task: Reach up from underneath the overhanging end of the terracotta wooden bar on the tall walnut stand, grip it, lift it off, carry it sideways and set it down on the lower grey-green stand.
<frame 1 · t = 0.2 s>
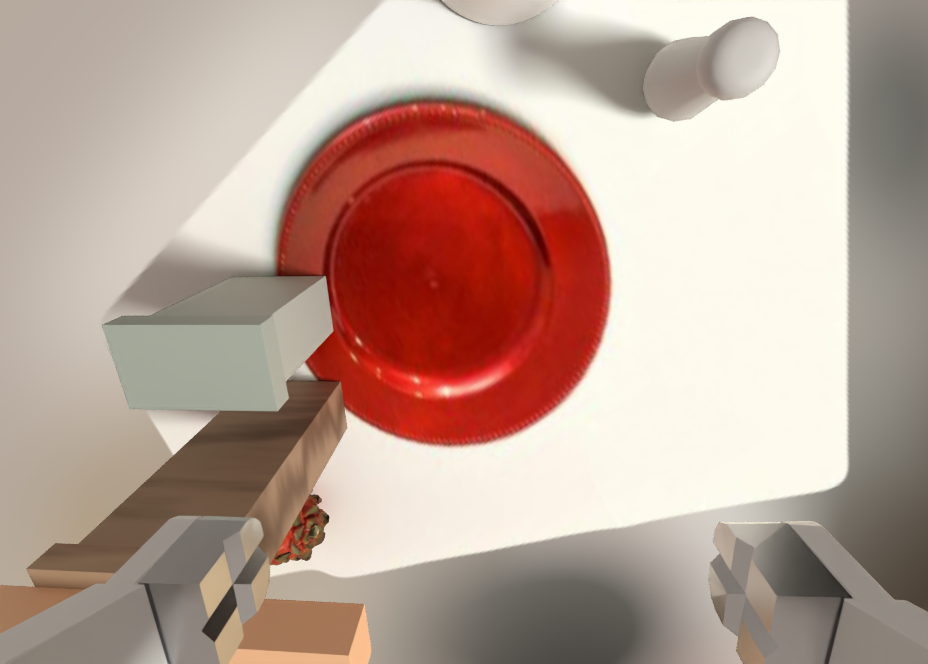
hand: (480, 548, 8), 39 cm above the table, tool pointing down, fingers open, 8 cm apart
low stand: (283, 304, 49), on the table
salt shaker: (671, 84, 39), on the table
dragon fruit: (297, 506, 60), on the table
bar: (179, 617, 29), point 26 cm above the table, touching tall stand
tall stand: (301, 404, 54), on the table
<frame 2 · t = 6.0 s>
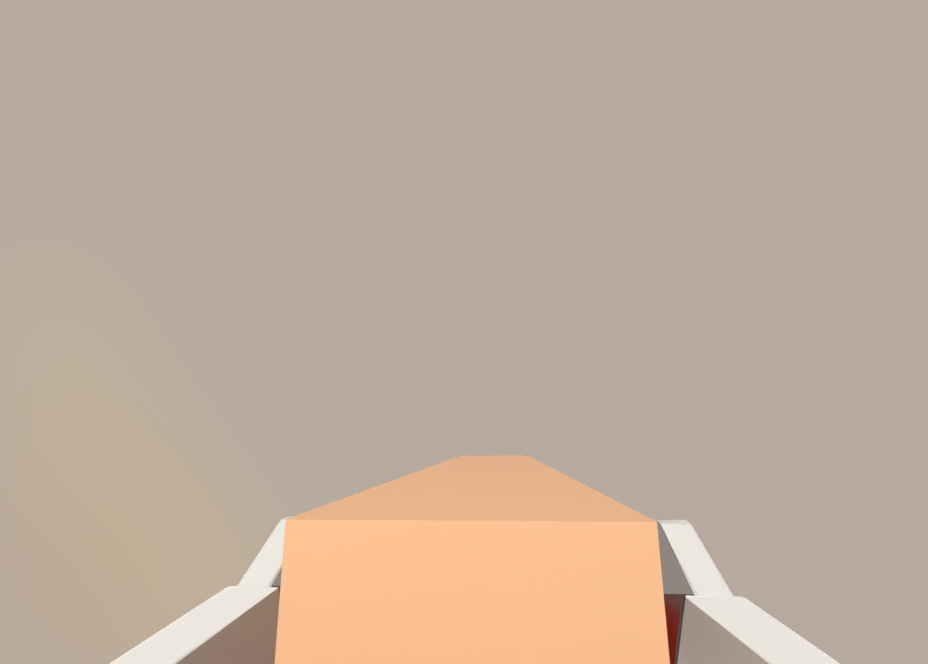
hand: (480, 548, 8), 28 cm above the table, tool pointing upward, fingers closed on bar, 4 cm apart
bar: (491, 556, 16), point 26 cm above the table, touching gripper, tall stand
when the fingers open (19 cm above the table, at t = 12.3 s): bar drops 1 cm, resting on low stand.
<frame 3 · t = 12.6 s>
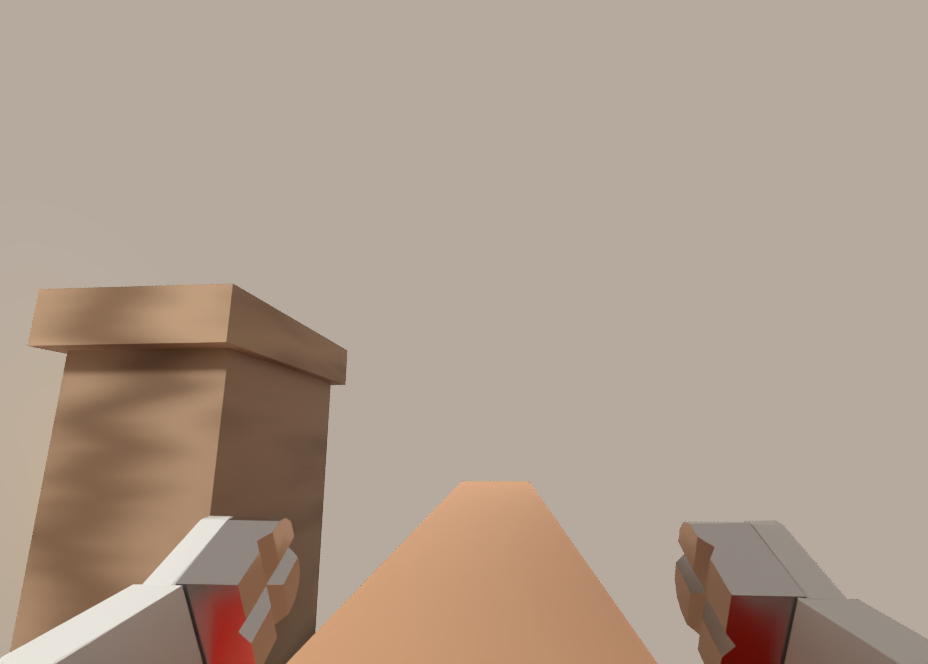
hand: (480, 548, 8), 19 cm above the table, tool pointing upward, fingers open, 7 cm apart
bar: (492, 606, 16), point 15 cm above the table, touching low stand
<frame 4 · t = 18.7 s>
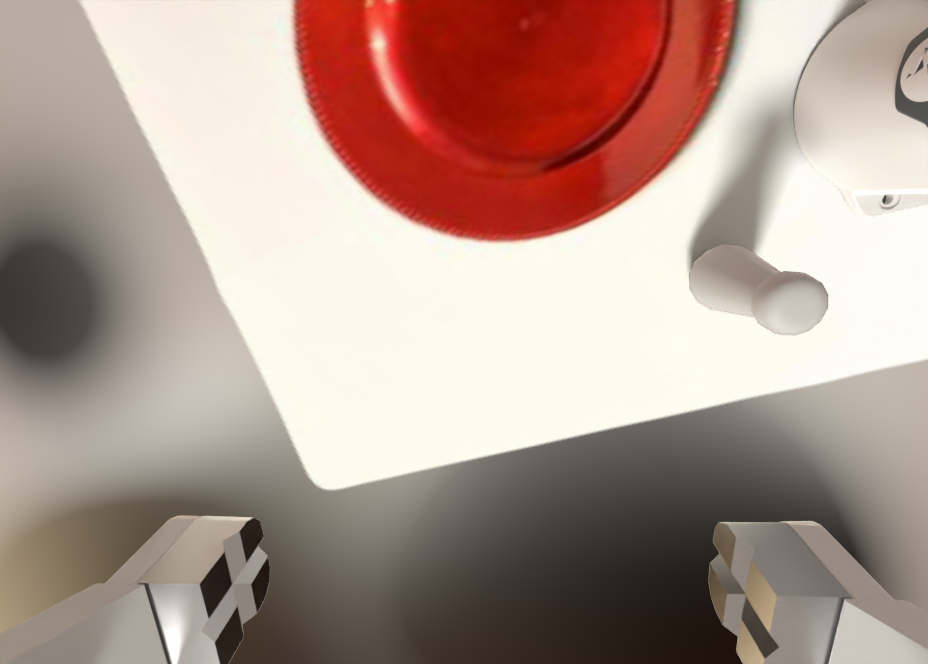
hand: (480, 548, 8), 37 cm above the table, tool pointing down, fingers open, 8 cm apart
salt shaker: (711, 272, 43), on the table
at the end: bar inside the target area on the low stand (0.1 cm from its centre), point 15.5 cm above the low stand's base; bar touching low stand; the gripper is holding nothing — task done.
